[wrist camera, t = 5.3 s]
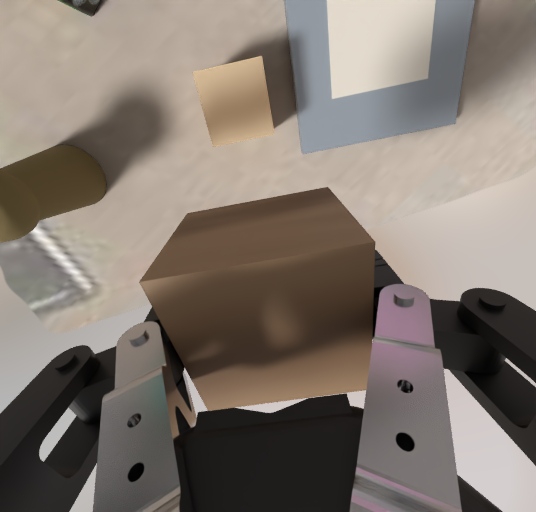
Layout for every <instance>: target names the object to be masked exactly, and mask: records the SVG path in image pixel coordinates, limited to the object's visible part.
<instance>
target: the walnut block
mask: <svg viewBox="0 0 536 512" xmlns="http://www.w3.org/2000/svg"><path fill="white" fill-rule="evenodd" d="M374 266H375V241H374V240H373V239H372V238H371V236H369V234H368V233H367V232H366V231H365V229H364V228H363V227H362V226H361V225H360V224H359V222H358V221H357V220H356V219H355V218H354V217H353V216H352V214H351V213H350V212H349V211H348V210H347V209H346V207H345V206H344V205H343V204H342V203H341V202H340V201H339V199H338V198H337V197H336V196H335V195H334V194H333V192H332V191H331V190H330V189H329V188H328V187H325V188H320V189H315V190H309V191H304V192H299V193H293V194H288V195H283V196H277V197H272V198H267V199H261V200H256V201H251V202H245V203H240V204H235V205H229V206H224V207H219V208H213V209H208V210H203V211H197V212H192V213H187V215H186V216H185V217H184V219H183V220H182V222H181V223H180V225H179V226H178V227H177V229H176V230H175V232H174V233H173V235H172V236H171V237H170V239H169V240H168V242H167V243H166V245H165V246H164V247H163V249H162V250H161V252H160V253H159V255H158V256H157V257H156V259H155V260H154V262H153V263H152V265H151V266H150V267H149V269H148V270H147V272H146V273H145V275H144V276H143V277H142V279H141V280H140V282H139V283H140V285H141V286H142V288H143V290H144V292H145V294H146V296H147V298H148V299H149V301H150V303H151V305H152V307H153V309H154V311H155V313H156V314H157V316H158V318H159V320H160V322H161V324H162V326H163V327H164V329H165V331H166V333H167V335H168V337H169V339H170V341H171V342H172V344H173V346H174V348H175V350H176V352H177V354H178V355H179V357H180V359H181V361H182V363H183V365H184V367H185V369H186V370H187V372H188V374H189V376H190V378H191V380H192V382H193V383H194V385H195V387H196V389H197V391H198V393H199V395H200V397H201V398H202V400H203V402H204V404H205V406H206V407H207V409H208V411H211V410H219V409H226V408H234V407H241V406H249V405H256V404H263V403H272V402H278V401H287V400H294V399H302V398H309V397H316V396H324V395H332V394H340V393H347V392H354V391H362V390H366V389H367V381H368V374H369V366H370V358H371V350H372V332H373V299H374Z"/></svg>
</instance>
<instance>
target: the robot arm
mask: <svg viewBox="0 0 536 512" xmlns="http://www.w3.org/2000/svg"><path fill="white" fill-rule="evenodd" d="M372 339H373V343H372V350H371V358H370V366H369V374H368V381H367V389H366V397H365V405H364V409H362V408H359V407H354V406H350V404H349V400H348V397H347V394H339V395H331V396H323V397H315V398H308V399H306V400H303V401H301V402H299V403H296V404H294V405H291V406H289V407H286V408H284V409H282V410H279V411H276V412H274V413H263V412H258V411H250V410H244V409H238V408H228V409H220V410H212V411H204V412H198V415H197V418H196V414H195V411H194V407H193V402H192V398H191V395H190V391H189V387H188V383H187V379H186V376H185V374H184V372H183V371H184V368H185V367H184V365H183V363H182V361H181V359H180V357H179V355H178V354H177V352H176V350H175V348H174V346H173V344H172V342H171V341H170V339H169V337H168V335H167V333H166V331H165V329H164V327H163V326H162V324H161V322H160V320H159V318H158V316H157V314H156V313H155V311H154V309H153V307H152V308H151V310H150V312H149V314H148V315H147V317H146V319H145V321H144V322H143V323H140V324H137V325H135V326H133V327H132V328H130V329H129V330H127V331H126V332H125V333H124V334H123V335H122V336H121V337H120V338H119V340H118V342H117V346H115V347H113V348H110V349H108V350H105V351H103V352H100V353H97V354H94V353H93V351H92V350H91V349H90V348H89V347H88V346H85V345H82V346H76V347H73V348H71V349H69V350H66V351H64V352H63V353H61V354H60V355H58V356H57V357H56V358H54V359H53V360H52V361H51V362H50V363H49V364H48V365H47V366H46V367H45V368H44V369H43V370H42V371H41V372H40V373H39V374H38V375H37V376H36V377H35V378H34V379H33V380H32V381H31V382H30V383H29V385H27V387H26V388H25V389H24V390H23V391H22V392H21V393H20V394H19V395H18V396H17V397H16V398H15V399H14V400H13V401H12V402H11V403H10V404H9V405H8V406H7V407H6V409H4V411H3V412H2V413H1V414H0V512H69V511H70V509H71V507H72V506H73V504H74V502H75V500H76V499H77V497H78V495H79V493H80V492H81V490H82V488H83V486H84V485H85V483H86V481H87V479H88V477H89V476H90V474H91V472H92V470H93V469H94V467H95V465H96V463H97V469H96V482H95V493H94V505H93V512H502V511H501V510H500V509H499V508H497V507H496V506H495V505H494V504H492V503H491V502H490V501H489V500H488V499H486V498H485V497H484V496H483V495H481V494H480V493H479V492H478V491H476V490H475V489H474V488H473V487H472V486H471V485H469V484H468V483H467V482H466V481H464V480H463V479H462V478H461V477H460V476H458V475H457V471H456V463H455V456H454V447H453V440H452V432H451V424H450V416H449V409H448V401H447V393H446V385H445V377H444V371H443V370H444V369H449V370H450V371H451V373H452V374H453V375H454V376H455V377H456V378H457V379H458V380H459V381H460V382H461V383H462V385H463V386H464V387H465V388H466V389H467V390H468V391H469V392H470V394H471V395H472V396H473V397H474V398H475V399H476V400H477V401H478V402H479V403H480V405H481V406H482V407H483V408H484V409H485V410H486V411H487V412H488V413H489V414H490V416H491V417H492V418H493V419H494V420H495V421H496V422H497V423H498V425H499V426H500V427H501V428H502V429H503V430H504V431H505V432H506V433H507V434H508V435H509V437H510V438H511V439H512V440H513V441H514V442H515V443H516V444H517V445H518V447H519V448H520V449H521V450H522V451H523V452H524V453H525V454H526V455H527V457H528V458H529V459H530V460H531V461H532V462H533V463H534V464H535V465H536V387H535V386H533V385H532V384H531V383H530V382H529V381H528V380H526V379H525V378H524V377H523V376H522V375H521V374H519V373H518V372H517V371H516V370H515V369H514V368H512V367H511V366H510V365H509V364H508V363H507V362H505V359H506V358H507V359H509V360H510V361H511V362H512V363H513V364H514V365H516V366H517V367H518V368H519V369H520V370H521V371H523V372H524V373H525V374H526V375H527V376H529V377H530V378H531V379H532V380H533V381H534V382H535V383H536V311H535V310H533V309H532V308H530V307H528V306H527V305H525V304H524V303H522V302H520V301H519V300H517V299H515V298H513V297H512V296H510V295H508V294H506V293H503V292H500V291H497V290H492V289H485V288H474V289H470V290H467V291H465V292H464V293H463V294H462V296H461V299H460V301H446V300H434V299H429V297H428V295H427V294H426V293H425V292H424V291H422V290H421V289H419V288H417V287H414V286H411V285H406V284H404V283H403V282H402V281H401V279H400V278H399V277H398V276H397V274H396V273H395V272H394V271H393V270H392V268H391V267H390V266H389V265H388V264H387V263H386V261H385V260H384V259H383V257H382V256H381V255H380V254H379V253H378V252H377V251H376V250H375V266H374V299H373V332H372ZM443 368H444V369H443ZM68 407H69V408H70V409H71V410H72V411H73V412H74V413H75V414H76V415H77V416H76V418H75V419H74V420H73V422H72V423H71V425H70V426H69V427H68V429H67V430H66V432H65V433H64V435H63V436H62V437H61V439H60V440H59V441H58V443H57V444H56V446H55V447H54V448H53V450H52V451H51V453H50V454H49V455H48V457H47V458H46V460H45V461H44V462H43V461H41V460H40V457H39V449H40V446H41V444H42V442H43V440H44V439H45V437H46V436H47V435H48V433H49V432H50V431H51V429H52V428H53V426H54V425H55V424H56V423H57V421H58V420H59V419H60V417H61V416H62V415H63V413H64V412H65V411H66V410H67V408H68Z"/></svg>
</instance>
